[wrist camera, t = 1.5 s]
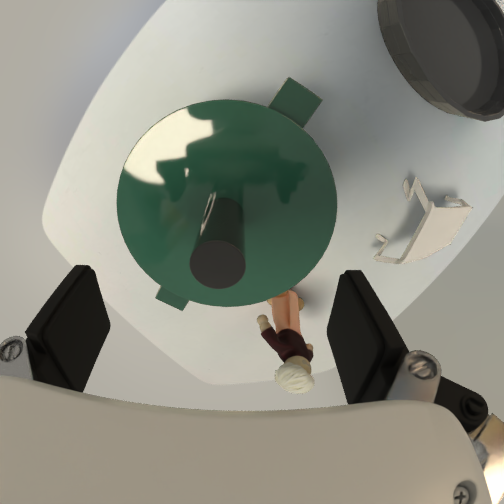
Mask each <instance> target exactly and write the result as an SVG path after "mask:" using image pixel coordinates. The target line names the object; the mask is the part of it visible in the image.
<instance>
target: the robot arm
mask: <svg viewBox="0 0 504 504" xmlns="http://www.w3.org/2000/svg"><path fill="white" fill-rule="evenodd" d="M109 330H110V320H109V318H108V315H107V311H106V308H105V305H104V302H103V299H102V295H101V292H100V288H99V285H98V281H97V278H96V274H95V271H94V270H93V269H91V267H90V266H89V265H76V266H74V268H73V269H72V270H71V271H70V272H69V274H68V275H67V276H66V277H65V279H64V280H63V281H62V282H61V284H60V285H59V286H58V287H57V289H56V290H55V291H54V293H53V294H52V295H51V296H50V298H49V299H48V300H47V302H46V303H45V304H44V306H43V307H42V308H41V310H40V311H39V313H38V314H37V315H36V317H35V318H34V320H33V321H32V323H31V324H30V325H29V327H28V328H27V330H26V331H25V333H26V335H27V339H26V341H25V339H24V338H22V337H20V336H13V337H9V338H8V339H6V340H4V341H3V342H2V343H1V344H0V504H499V502H500V500H501V499H502V497H503V495H504V422H502V421H501V420H500V419H499V418H498V417H497V416H495V415H494V414H493V413H492V414H491V415H488V407H487V403H486V401H485V400H484V398H483V397H481V395H479V394H477V393H476V392H473V391H472V390H469V389H467V388H465V387H463V386H461V385H459V384H456V383H454V382H453V381H451V380H448V379H446V378H444V377H442V376H441V366H440V364H439V362H438V361H437V359H436V358H435V357H434V356H433V355H431V354H429V353H427V352H424V351H421V350H414V351H411V352H409V350H408V349H407V347H406V345H405V343H404V341H403V339H402V337H401V336H400V334H399V332H398V330H397V329H396V327H395V325H394V323H393V321H392V320H391V318H390V316H389V315H388V313H387V311H386V309H385V308H384V306H383V305H382V303H381V302H380V300H379V298H378V297H377V295H376V293H375V292H374V290H373V288H372V287H371V285H370V283H369V282H368V280H367V279H366V277H365V275H364V274H363V272H362V271H361V270H346V271H345V273H344V274H341V275H340V278H339V282H338V286H337V291H336V295H335V299H334V303H333V307H332V311H331V315H330V319H329V323H328V326H327V337H328V340H329V343H330V346H331V350H332V353H333V356H334V359H335V363H336V366H337V369H338V372H339V376H340V379H341V382H342V386H343V389H344V393H345V395H346V399H347V403H348V404H349V405H341V406H332V407H321V408H309V409H295V410H277V411H220V410H199V409H185V408H174V407H165V406H156V405H148V404H141V403H134V402H127V401H122V400H116V399H110V398H105V397H100V396H95V395H90V394H86V393H83V391H84V388H85V386H86V383H87V381H88V379H89V376H90V374H91V371H92V369H93V367H94V364H95V362H96V359H97V357H98V355H99V353H100V350H101V348H102V346H103V343H104V341H105V339H106V337H107V335H108V333H109Z"/></svg>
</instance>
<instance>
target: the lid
mask: <svg viewBox="0 0 504 504" xmlns="http://www.w3.org/2000/svg"><path fill="white" fill-rule="evenodd" d="M117 215H118V221H119V225H120V230H121V233H122V236H123V238H124V241H125V243H126V245H127V247H128V249H129V251H130V253H131V255H132V256H133V257H134V259H135V260H136V262H137V263H138V265H139V266H140V267H141V268H142V269H143V270H144V271H145V273H146V274H147V275H149V276H150V277H151V278H152V279H153V280H154V281H155V282H157V283H158V284H159V285H161V286H162V287H164V288H165V289H167V290H168V291H170V292H172V293H174V294H176V295H178V296H180V297H182V298H185V299H187V300H190V301H193V302H197V303H200V304H205V305H211V306H222V307H234V306H244V305H251V304H255V303H259V302H263V301H266V300H268V299H271V298H274V297H276V296H278V295H280V294H282V293H284V292H286V291H287V290H289V289H290V288H292V287H293V286H295V285H296V284H297V283H299V282H300V281H301V280H302V279H303V278H305V277H306V276H307V275H308V274H309V273H310V271H311V270H312V269H313V268H314V267H315V266H316V264H317V263H318V262H319V260H320V259H321V258H322V256H323V254H324V252H325V250H326V249H327V247H328V245H329V242H330V240H331V237H332V234H333V231H334V227H335V222H336V215H337V192H336V187H335V182H334V178H333V175H332V172H331V169H330V166H329V164H328V162H327V160H326V158H325V156H324V154H323V153H322V151H321V150H320V148H319V147H318V145H317V144H316V143H315V141H314V140H313V139H312V138H311V137H310V136H309V135H308V134H307V133H306V132H305V131H304V130H303V129H302V128H301V127H300V126H299V125H297V124H296V123H295V122H293V121H292V120H291V119H289V118H288V117H286V116H284V115H282V114H281V113H279V112H277V111H275V110H273V109H270V108H268V107H265V106H262V105H259V104H255V103H251V102H246V101H240V100H212V101H205V102H201V103H196V104H192V105H190V106H187V107H184V108H182V109H179V110H177V111H175V112H173V113H171V114H169V115H168V116H166V117H164V118H163V119H161V120H160V121H159V122H157V123H156V124H155V125H153V126H152V127H151V128H150V129H149V130H148V131H147V132H146V133H145V134H144V135H143V136H142V137H141V138H140V139H139V141H138V142H137V143H136V145H135V146H134V148H133V149H132V150H131V152H130V154H129V156H128V158H127V160H126V162H125V164H124V167H123V170H122V172H121V175H120V179H119V184H118V189H117Z"/></svg>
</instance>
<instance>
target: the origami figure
mask: <svg viewBox="0 0 504 504" xmlns="http://www.w3.org/2000/svg"><path fill="white" fill-rule="evenodd" d="M403 188H404V191H405V194H406V197H407V200H408V201H409V202H410V199H411V197H412V195H413V193H414V191H415V192H416V194H417V196H418V198H419V200H420V202H421V204H422V206H423V208H424V210H425V214H424V216H423V218H422V220H421V222H420V224H419V226H418V228H417V230H416V232H415V233H414V235H413V237H412V239H411V241H410V243H409V244H408V246H407V248H406V250H405V251H404V253H403V255H402V257H401V258H400V259H396V258H389V257H384V256H380V255H381V254H382V252H383V250H384V248H385V246H386V244H387V243H388V240H386V239H385V238H384V237H382V236H381V235H379V234H377V235H376V236H375V237H376V238H377V239H378V240H380V241H381V242H382V243H384V244H383V246H382V247H381V249H380V250H379V251H378V252H377V254H376V255H375V256H374V258H373V259H374V260H376V261H380V262H386V263H394V264H405V263H409V262H412V261H416V260H420V259H423V258H426V257H428V256H430V255H432V254H433V253H435V252H437V251H439V250H440V249H442V248H444V247H445V246H447V245H451V242H452V240H453V239H454V237H455V235H456V234H457V232H458V231H459V229H460V227H461V226H462V224H463V222H464V221H465V219H466V217H467V215H468V214H469V212H470V210H471V209H472V208H473V207H471V206H469V205H468V204H467V203H466V202H465V201H464V200H462V199H456V198H449V197H448V196H447V195H446V197H445V199H444V200H446V201H450V202H453V203H457V204H460V205H462V206H456V207H435V205H434V202H433V201H431V202H429V201H428V199H427V197H426V194H425V192H424V190H423V188H422V186H421V184H420V181H419V180H418V178H417V177H416V178H415V180H414V183H413V185H412V188H411V191H410V187H409V183H408V180H406V179H405V181H404V184H403Z"/></svg>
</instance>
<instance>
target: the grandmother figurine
mask: <svg viewBox="0 0 504 504" xmlns="http://www.w3.org/2000/svg"><path fill="white" fill-rule="evenodd" d="M267 302H268V303H269V304H270V305H272V315H273V320H274V323H275V325H276V332H275V330H274V329H273V328H272V327H271V325H270V323H269V322H268V318H267V316H266V315H260V316H258V318H257V322H258V324H259V325H260V330H261V332H262V333H261V335H262V337H263V338H264V339H265V340H266V341H267V343H268V344H269V345H270V346H271V347H272V348H273V349H274V350H275V351H276V352H277V353H278V355H279V357H280V358H281V359H282V361H283V362H284V364H283V365H282V366H280V367H279V369H278V370H275V373H276V374H275V381H276V382H277V383H278V384H279V386H281V387H282V388H283V389H284V390H285V391H287V392H291V393H297V394H303V393H307V392H309V391H310V390H311V389H312V388H313V386H314V379H313V377H312V376H311V375H310V374H311V365H310V362H311V360H312V358H313V346H312V345H311V344H306V343H305V341H304V339H303V337H302V335H301V332H300V320H299V311H300V310H302V309H303V307H304V301H303V300H302V299H301V298H298V296H297V294H296V293H295V292H294V291H291V290H290V291H288V290H287V291H286V292H284V293H282V294H280V295H278V296H276V297H274V298H271V299H268V300H267Z"/></svg>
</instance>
